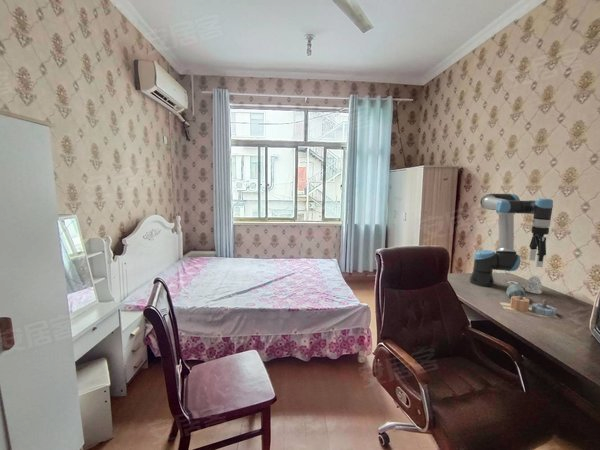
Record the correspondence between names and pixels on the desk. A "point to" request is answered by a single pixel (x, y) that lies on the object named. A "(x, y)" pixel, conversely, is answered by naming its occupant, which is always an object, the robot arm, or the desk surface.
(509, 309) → the gear board
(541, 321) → the desk surface
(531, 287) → the figurine
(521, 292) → the spool
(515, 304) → the loose gear
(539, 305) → the gear
